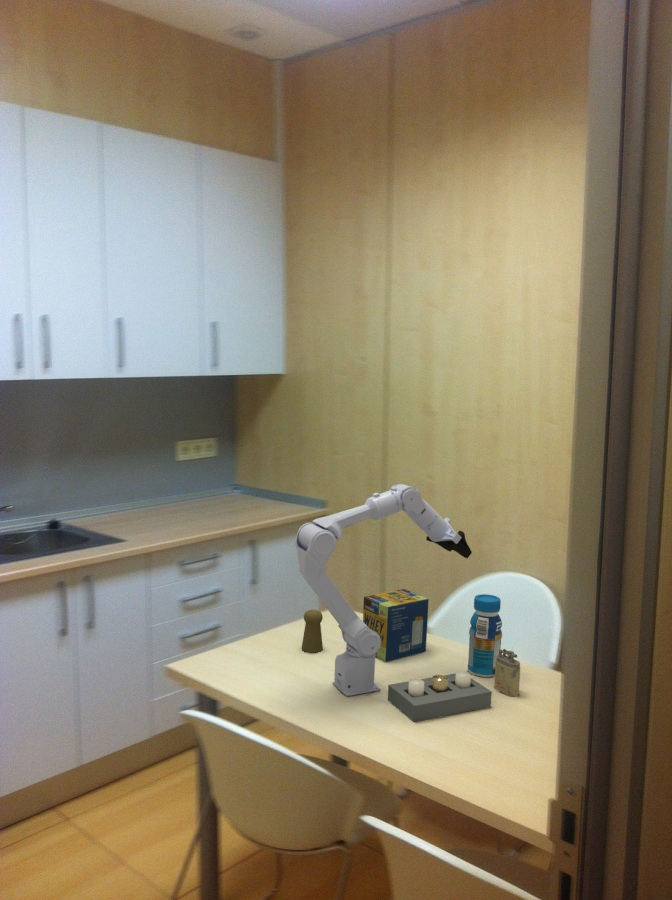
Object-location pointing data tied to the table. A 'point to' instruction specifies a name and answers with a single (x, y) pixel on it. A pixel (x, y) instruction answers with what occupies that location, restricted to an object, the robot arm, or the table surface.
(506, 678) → the lighter
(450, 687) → the grey slotted block
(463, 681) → the far knob
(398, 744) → the table surface
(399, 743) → the table surface
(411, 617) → the protein box
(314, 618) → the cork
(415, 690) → the near knob
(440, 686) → the brass knob
